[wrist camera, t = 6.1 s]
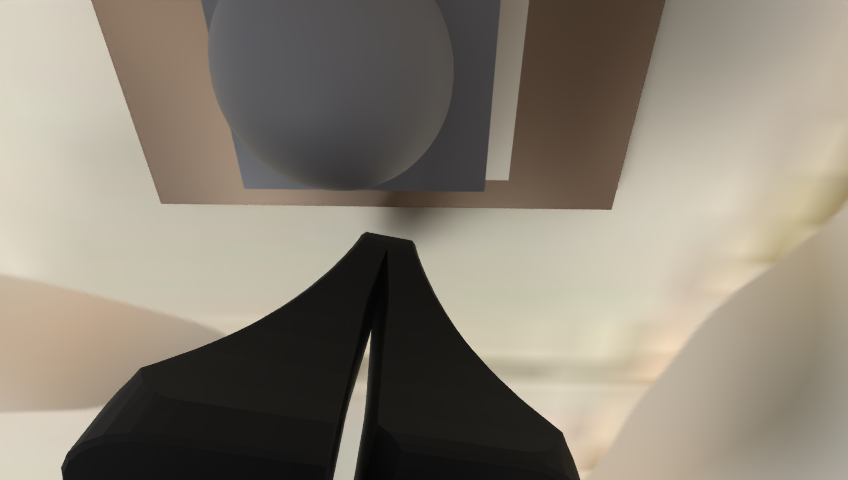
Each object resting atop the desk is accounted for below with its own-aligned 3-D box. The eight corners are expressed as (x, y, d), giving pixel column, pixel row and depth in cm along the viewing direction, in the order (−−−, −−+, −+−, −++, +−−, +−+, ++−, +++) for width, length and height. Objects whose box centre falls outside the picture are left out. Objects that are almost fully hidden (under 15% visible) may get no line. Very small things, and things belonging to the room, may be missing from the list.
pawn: (291, 139, 10) (158, 278, 5) (256, -86, 8) (-33, -214, 3) (471, 141, 10) (508, 284, 5) (486, -86, 8) (573, -213, 3)
